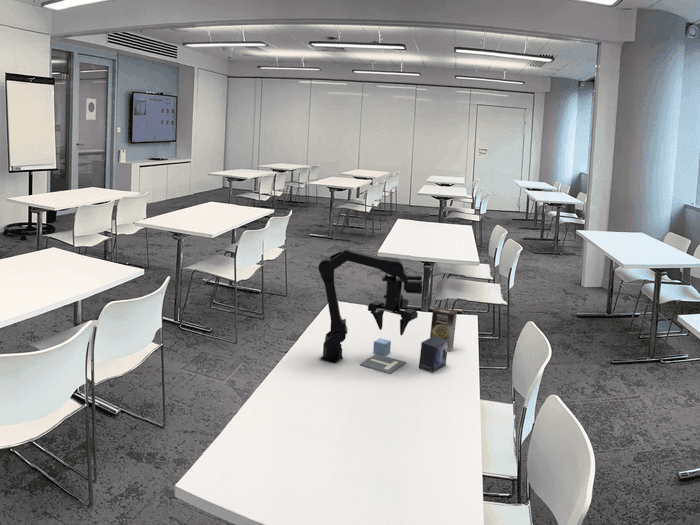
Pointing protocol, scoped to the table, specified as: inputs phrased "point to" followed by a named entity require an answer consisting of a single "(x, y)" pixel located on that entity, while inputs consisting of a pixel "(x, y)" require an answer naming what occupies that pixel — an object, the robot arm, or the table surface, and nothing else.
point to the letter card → (383, 363)
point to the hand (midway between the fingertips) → (391, 332)
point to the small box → (433, 353)
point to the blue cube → (382, 346)
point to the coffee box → (444, 325)
